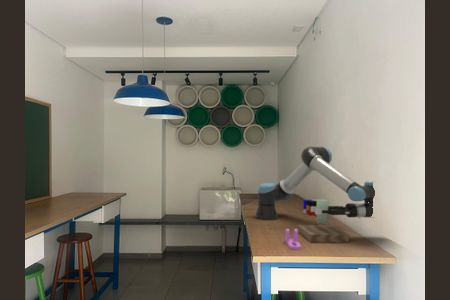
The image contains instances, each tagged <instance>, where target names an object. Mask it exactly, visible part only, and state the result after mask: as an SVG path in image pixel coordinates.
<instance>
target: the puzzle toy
mask: <svg viewBox="0 0 450 300" xmlns="http://www.w3.org/2000/svg"><path fill="white" fill-rule="evenodd" d="M311 207H317V199H315V198H313V199H303V207H302V211H303V214H304V215H305V214H306V215H308V214H309V215H308V216H312V215H315V216H317V214H315V212H311Z"/></svg>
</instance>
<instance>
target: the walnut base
mask: <svg viewBox="0 0 450 300" xmlns="http://www.w3.org/2000/svg"><path fill="white" fill-rule="evenodd" d="M297 230H298V234H300V235H301V236H302V237H303V238H304V239H305V240H306V241H308V242H309V243H350V242H349V240H350V239H349V238H350V236H349V235H350V234H349V233H347V232H345V231H343V230H342V229H340V228H338V227H336V226H335V225H333V224H309V225H308V224H298V225H297Z"/></svg>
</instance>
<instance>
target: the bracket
mask: <svg viewBox="0 0 450 300" xmlns="http://www.w3.org/2000/svg"><path fill="white" fill-rule="evenodd" d="M284 233H285V238H284V239H285V240H284V241H285V243H286V245H287V246H288V248H289V249H291V250H294V251H295V250H297V251H298V250H301V249H302V245H301V243H300V242H299V233H298V228H293V238H290V229H289V228H285V232H284Z"/></svg>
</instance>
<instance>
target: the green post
mask: <svg viewBox="0 0 450 300" xmlns="http://www.w3.org/2000/svg"><path fill="white" fill-rule="evenodd" d="M316 200H317V209H328V206H329V200H328V199H323V198H321V199H320V198H319V199H318V198H317V199H316ZM316 223H317V224H320V225H328V223H329V214H317V215H316Z"/></svg>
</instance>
